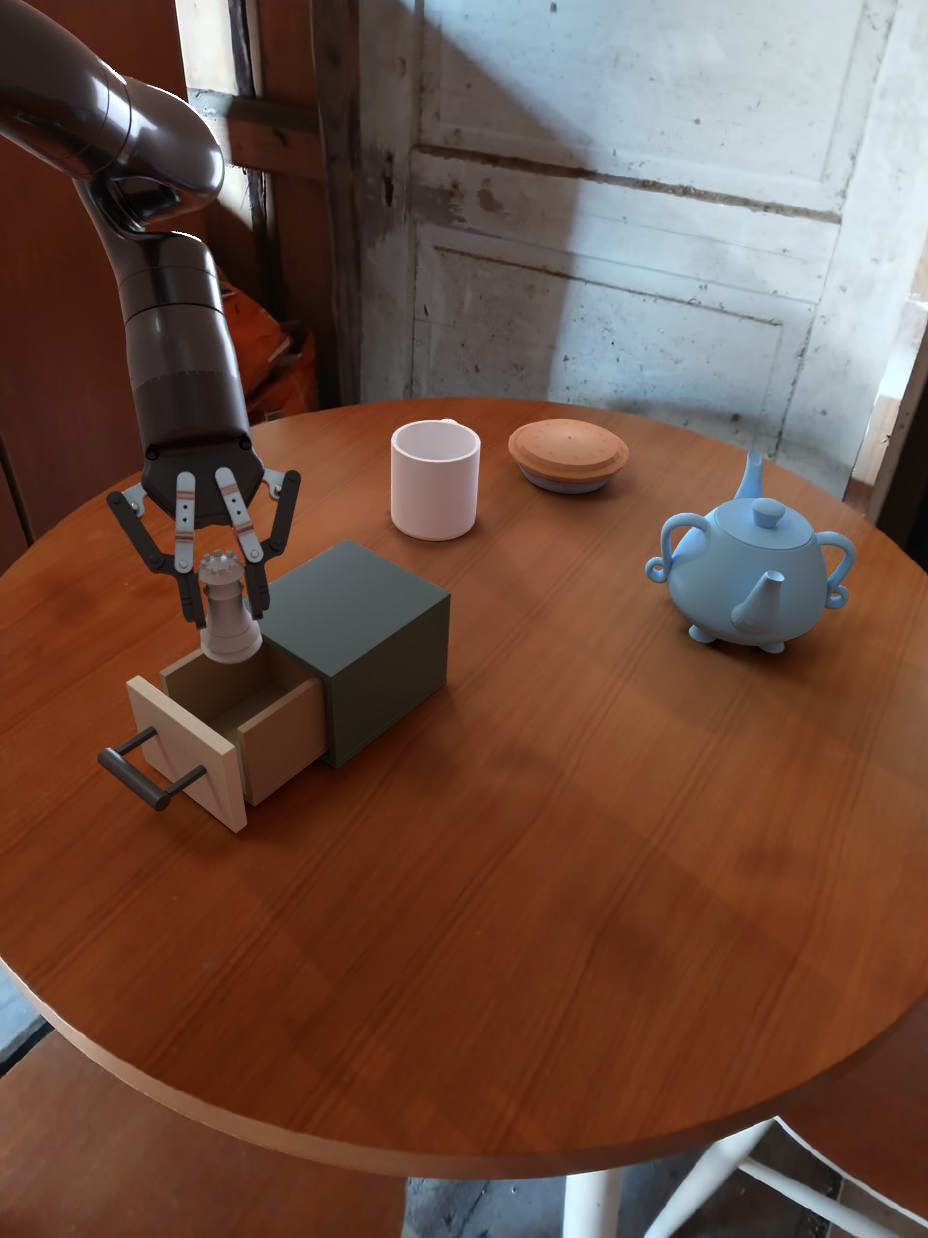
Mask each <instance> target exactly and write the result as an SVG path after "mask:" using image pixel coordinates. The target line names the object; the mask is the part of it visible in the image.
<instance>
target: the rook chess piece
mask: <svg viewBox="0 0 928 1238" xmlns="http://www.w3.org/2000/svg"><path fill="white" fill-rule="evenodd" d="M221 549H222V548H217V549H213V555H212V556H211V554H210V553H209V552H206V553H204V554H203V555H202V559H200V565H199V566H198V568H197V570H196V573H197V575H198V580H200V581H201V582H202V583H204V586H203V588H202V591H203V594H204V596H206V598H207V615H206V616H205V620H206V626H207V628H206V629H200V633H199V636H200V647H201V648H202V652H203V653H204V654H205V655H206V656H207V657H208V658H210V659H212V660H214V661H216V662H219V663H222V664H235V663H240V662H243V661H245V660H247V659H249V658H251V657H252V656H253V655H254V654H255V653H256V652H257V651H258V650H259V648H260V646H261V643H262V637H261V633H260V628H259V624H258V623H257V621H256V620H255V621H252V616H251V614H250V613H249V612H248V611H247V609H246V607H245V604H244V600H243V598H244V597H243V591H244V588H245V585H244V582H243V581H242V580H241V579H242V577H244V572H245V568H244V566H245V563H244V562H241V560H239V557H238V554H235V551H234V550H231V549H226V551H225V553H224V554H223V553H222V550H221Z"/></svg>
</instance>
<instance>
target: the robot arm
mask: <svg viewBox="0 0 928 1238" xmlns="http://www.w3.org/2000/svg"><path fill="white" fill-rule="evenodd" d="M0 135H1V136H3V137H4V138H6V139H8V141H11V142H12V143H13V144H15V145H16V146H18V147H20V148H21V149H23V150H25V151H26V152H28V153H29V154H31V155H33V156H35V157H36V158H38V159H39V160H41V161H43V162H44V163H46V164H47V165H49V166H51V168H54V169H55V170H57V171H59V172H60V173H62V174H63V175H66V176H67V177H70V178H71V180H72V183H73V185H74V187H75V190H76V193H77V194H78V197H79V199H80V200H81V203H82V204H83V206H84V208H85V210H86V212H87V214H88V216H89V218H90V219H91V222H92V223H93V226H94V228H95V230H96V232H97V234H98V236H99V239H100V241H101V243H102V244H101V245H102V247H103V248H104V251H105V253H106V256H107V258H108V260H109V263H110V266H111V268H112V271H113V273H114V277H115V279H116V280H115V281H116V284H117V289H118V290H117V291H118V296H119V302H120V308H121V315H122V319H123V326H124V330H125V343H126V345H125V347H126V361H127V362H126V363H127V369H128V375H129V383H130V384H129V386H130V389H131V392H132V397H133V402H134V409H135V414H136V415H135V416H136V420H137V425H138V430H139V431H138V432H139V437H140V443H141V448H142V454H143V459H144V460H143V461H144V464H143V469H142V471H141V473H140V480H139V481H140V482H138V483H136V484H134V485H133V486H130V487H129V488H127V489H125V490H123V491H119V490H113V491H110V492H109V493H108V494H107V495H106V499H105V500H106V504H107V507H108V508H109V510H110V513H111V514H112V515H113V517H114V518H115V520H116V521H117V524H119V526H120V527H121V529H122V530H123V532H124V534H125V535H126V537H127V538H128V540H129V541H130V543H131V544H132V546H133V548H134V550H136V552H137V554H138V556H140V558H141V560H142V561H143V563H144V564H145V566H146V567H147V569H148V570H149V571H150V572H151V573H152V574H156V575H157V574H162V575H167V576H171V577H173V578H174V579H175V581H176V582H177V587H178V593H179V598H180V599H179V600H180V604H181V610H182V614H183V615H182V616H183V618H184V620H185V621H186V623H187V624H190V623H195V629H196V631H199V630H200V631H201V629H206V628H207V626H206V620H205V619H206V615H205V609H204V603H203V598H202V592H201V587H200V581H199V580H200V579H199V578H198V575H197V572H195V569H194V568H195V567H194V565H195V541H196V531H197V530H202V529H205V528H207V527H210V526H212V525H213V526H222V527H226V526H229V529H230V531H231V533H232V536H233V538H234V540H235V542H236V544H237V547H238V549H239V551H240V554H241V556H242V559H243V563H244V568H245V572H244V574H243V577H244V584H245V590H246V594H247V595H246V596H248V600H249V606H250V611H251V616H252V621H255V620H261V619H263V611H265V610H268V609H269V605H270V601H271V600H270V594H269V589H268V584H269V583H268V578H267V574H266V569H265V568H266V567H265V565H266V563H267V562H269V561H270V560H272V559H274V558H275V557H280V556H282V555H283V554H284V553H285V551H286V548H287V545H288V540H289V537H290V532H291V527H292V523H293V518H294V515H295V509H296V506H297V500H298V497H299V491H300V488H301V483H302V475H301V473H300V472H299V471H297V470H296V469H290V470H287V471H286V472H284V471H280V470H277V469H274V468H270V467H266V466H265V464H264V462H263V460H262V458H260V457H259V455H258V454H257V452H256V450H255V448H254V443H253V438H252V433H251V427H250V421H249V416H248V410H247V406H246V400H245V395H244V394H245V393H244V390H243V384H242V377H241V373H240V368H239V361H238V357H237V352H236V348H235V345H234V341H233V338H232V336H231V333H230V330H229V326H228V323H227V322H228V321H227V318H226V313H225V308H224V307H225V306H224V302H223V296H222V291H221V287H220V286H221V285H220V279H219V273H218V269H217V265H216V261H215V257H214V255H213V253H212V252H211V250H210V248H209V247H208V245H206V243H204V242H203V241H202V240H201V239H199V238H197V237H196V236H192V235H190V234H187V233H182V232H178V231H177V232H176V231H147V227H148V226H149V225H150V226H151V225H153V224H154V225H155V224H158V223H160V222H163V221H168V220H170V219H173V218H177V217H180V216H183V215H187V214H190V213H195V212H198V211H200V210H202V209H204V208H206V207H209V206H210V205H211V204H212V203H213V202H214V201H216V199H217V198H218V197H219V195H220V193H221V191H222V190H223V189H222V188H223V186H224V181H225V176H226V169H225V168H226V167H225V166H226V165H225V160H224V159H225V158H224V155H223V151H222V149H221V145H220V143H219V141H218V139H217V138H216V137H217V136H216V135H215V133H214V132H213V130H212V129H211V127H210V126H209V124H208V123H207V122H206V121H205V119H204V118H203V117H202V115H200V114H199V113H198V112H197V111H196V109H195V108H193V107H192V106H191V105H189V104H188V103H187V102H185V101H184V100H182V99H181V98H179V97H178V96H177V95H174V94H172V93H170V92H168V91H165V90H163V89H161V88H158V87H155V86H153V85H150V84H148V83H145V82H142V81H141V80H138V79H136V78H133V77H130V76H127V75H123V74H120V73H117V72H115V70H113V69H112V68H111V67H110V66H109V65H108V64H107V63H106V62H104V61H103V60H102V59H101V58H100V57H99V56H98V55H97V54H96V53H95V52H93V51H92V50H91V49H90V48H89V47H88V46H87V45H86V44H85V43H84V42H82V41H81V40H80V39H79V38H78V37H77V36H75V35H74V34H73V33H71V32H70V31H69V30H68V29H66V28H65V27H63V26H62V25H61V24H59V23H58V22H57V21H55V20H54V19H52V18H51V17H50V16H48V15H46V14H45V13H43V12H41V10H39V9H37V8H35V7H34V6H33V5H31V4H29V3H27V2H26V1H24V0H0ZM262 484H264V485H265V486H266V487H267V488H268V497H269V499H270V500H271V501H273V502H275V503H277V504H276V509H275V513H274V517H273V522H272V525H271V526H272V527H271V531H270V536H269V537H268V538H266V539H263V540H262V541H259V538H258V535H257V533H256V530H255V529H254V528H255V527H254V525H253V521H252V518H251V516H250V514H249V511H248V510H249V508H250V505H251V504H252V502H253V500H254V498H255V496H256V494H257V492H258V491H259V488H260V486H261V485H262ZM147 498H149V500H151V501H152V502H153V503H154V504H156V506H158V507H159V508H160V510H161V511H163V512H164V513H165V514H166V515H167V516H168V517H169V518H170V519H171V520H172V521H173V522H174V523H175V525H174V527H175V528H174V531H175V532H174V554H171V553H165V552H162V551H161V550H160V548H159V546H158V545H157V543H156V542H155V541H154V539H153V538H152V536H151V534H150V532H149V531H148V530H147V529H146V527H145V526H144V525H145V524H143V522H142V521H141V520H142V519H144V518H145V517H146V513H147V511H146V507H145V504H144V503H145V500H146V499H147Z"/></svg>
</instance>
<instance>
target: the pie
mask: <svg viewBox="0 0 928 1238" xmlns="http://www.w3.org/2000/svg"><path fill="white" fill-rule="evenodd" d="M507 443H508V444H507V446H508V450H509V454H510V456H511V457H512V458H513V459H514V460H515V462H516V463H517V465H518V467H519V469H520V470H521V473H522V474H523V476H524V477H525V478H526V479H527V480H528V481H529V482H530V483H532V484H534V485H535V486H536V487H539V488H541V489H545V490H546V491H548V492H554V493H558V494H567V495H577V494H587V493H590V492H594V491H597V490H598V489H600V488H602V487H604V486H605V485H606V484H607V483H608V482H609V481H610V480H611V479H612V478H613V477H614V476H615V474H617V473H619V472H620V471H621V470H622V469H623V468H624V467H625V465H626V464H627V462H628V461H629V455H630V450H629V448H628V447H627V445H626V443H625V442H624V441H623V440H622V439H621V438H620V437H619V436H617V435H616V434H614V433H613V432H611V431H609V430H608V429H606V428H604V427H601V426H599V425H596V424H593V423H590V422H587V421H584V420H583V421H582V420H579V419H578V420H577V419H573V418H572V419H571V418H554V419H553V418H551V419H543V420H539V421H535V422H531V423H526V424H525V425H522V426H520V427H518V428H516V430H515V431H514V432H513V433H512V434H511V435H510V436H509V439H508V442H507Z"/></svg>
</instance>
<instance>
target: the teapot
mask: <svg viewBox="0 0 928 1238" xmlns="http://www.w3.org/2000/svg"><path fill="white" fill-rule="evenodd" d="M763 469H764V460H763V456H762V454H761V452H760V451H759V450H758V449H755V448H752V449H750V450H749V451H748V453H747V457H746V465H745V471H744V475H743V477H742V480H741V483H740V485H739V487H738V489H737V492H736V493H735V494H734V495H735V496H734V497H733V499H731V500H728V501H725V502H723V503H721V504H720V505H718V506H717V507H715V508H714V509H712V510H711V511H710V512H708V513H707V514H706V515H705V516H702V515H700V514H697V513H694V512H682V513H677V514H674V515H673V516H670V517H669V518H668V519H667V520H666V521H665V522H664V524H663V526H662V528H661V532H660V552H661V557H659V556H654V557H652V558H650V559H649V560H648V561H647V562H646V564H645V567H644V573H645V575H646V577H647V578H648V579H649V580H650V581H652V582H653V583H655V584H664V583H666V587H667V592H668V594H669V597H670V598H671V600H672V602H673V603H674V605H675V606H676V608H677V609H678V610H679V612H680V613H681V614H682V615H683V616H684V618H686V620H687V621H688V622H690V623H691V624H692V626H690V628H689V629H688V634H689V637H691V638H692V639H693V640H695V641H696V642H698V643H704V644H709V643H713V642H714V641H716V639H719V640H722V641H725V642H728V643H731V644H737V645H742V646H751V647H752V646H753V647H758V648H759V649H761V650H763V651H764V652H766V653H771V654H779V653H782V652H783V651H784V650H785V643H786V642H788V641H791V640H793V639H796V638H798V637H801V636H803V635H804V634H806V633H807V632H809V631H811V629H812V628H813V627H815V626H816V625H817V624H818V623H819V621H820V619H821V618H822V615H823V613H824V610H825V609H828V610H838V609H841V608H844V607H845V606H846V605H847V603H848V602H849V598H850V593H849V590H848V588H847V587H846V586H844V585H841V583H843V581H844V580H845V579H846V577H848V575H849V573H850V572H851V570H852V569H853V567H854V565H855V562H856V559H857V551H856V547H855V544H854V543H853V542H852V541H851V540H850V539H849V537H846V536H845V535H844V534H841V533H840V532H835V531H818V532H817V533H816V532H815V530H814V528H813V526H812V525H811V523H810V522H809V520H807V519H806V517H804V516H803V514H801V513H800V512H798V511H796V510H795V509H793V508H792V507H790V506H787V505H785V504H783V503H782V502H781V501H778V500H776V499H774V498H768V497H763V472H764V471H763ZM679 527H691V528H690V529H689V530H688V531H687V532H686V533H685V535H684V536H682V539H681V540H680V542H679V543H678V544H677V546H676V548H675V549H674V551H673V552H672V545H671V539H672V538H671V537H672V533H673V531H674V530H675V529H677V528H679ZM821 546H834V547H837V548H839V549H842V550H843V551H844V555H843V558H842V560H841V561H840V563H839V564H838V566H837V567H836V568H835V570H834V571H833V572H832V574H831V575H830V576H829V577H828V571H827V565H826V561H825V558H824V557H825V556H824V554H823V551H822V549H821ZM657 566H660V567H662V569H661V570H658V569H656V568H655V567H657ZM832 594H835V595H836V596H832ZM837 595H838V596H837Z"/></svg>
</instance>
